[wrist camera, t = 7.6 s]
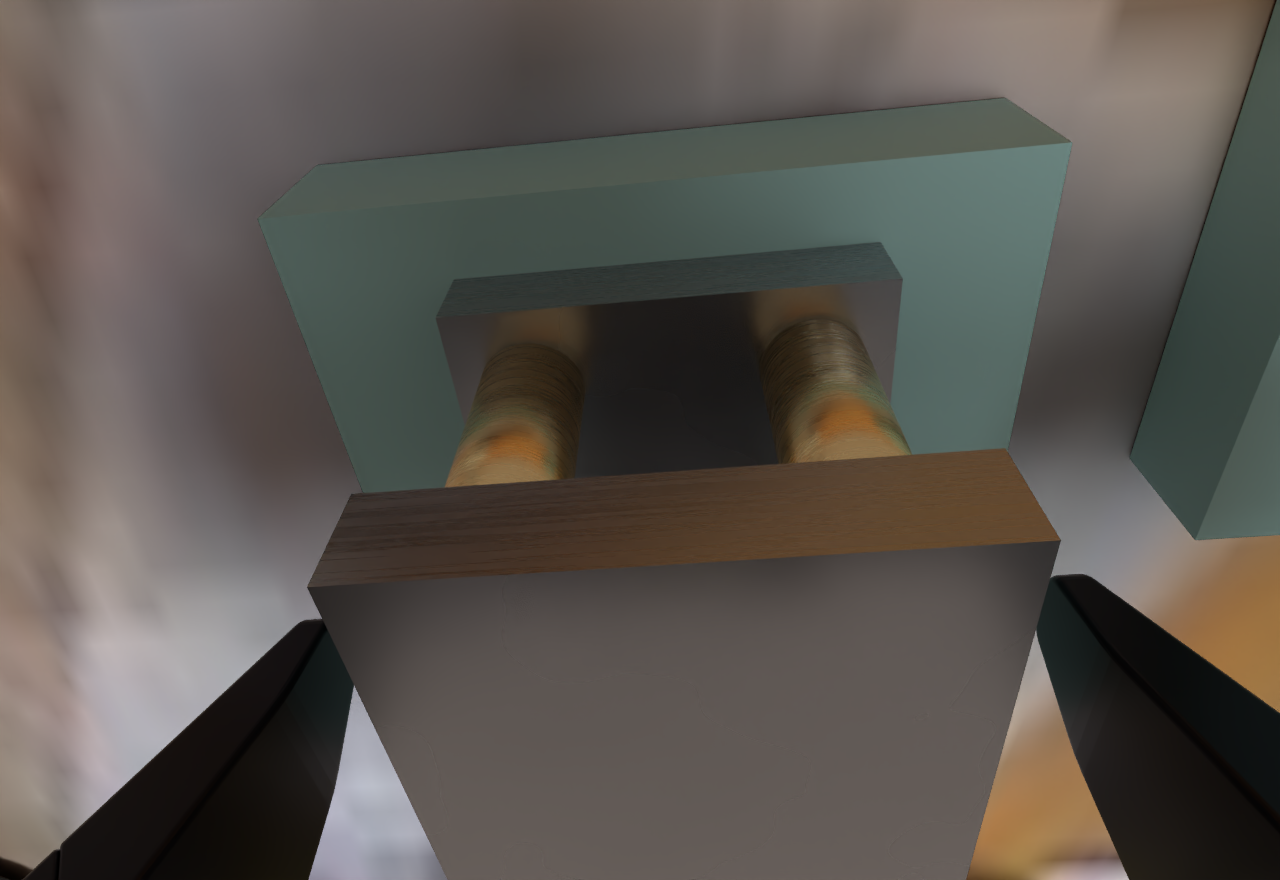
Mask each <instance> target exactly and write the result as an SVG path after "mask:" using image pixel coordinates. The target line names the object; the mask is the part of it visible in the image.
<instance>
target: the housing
mask: <svg viewBox="0 0 1280 880" xmlns="http://www.w3.org/2000/svg"><path fill="white" fill-rule="evenodd" d="M902 282H903V278H902V276H901V275H900V273H899V271H898V270H897V268H896V266H895V265H894V263H893V261H892V260H891V258H890V256H889V255H888V253H887V251H886V250H885V248H884V246H883V245H882V243H881V242H875V243H863V244H852V245H840V246H829V247H818V248H806V249H795V250H783V251H772V252H760V253H749V254H738V255H726V256H715V257H703V258H692V259H681V260H669V261H658V262H646V263H635V264H623V265H612V266H601V267H589V268H578V269H566V270H555V271H544V272H532V273H521V274H509V275H498V276H486V277H475V278H464V279H454V280H453V282H452V284H451V286H450V288H449V291H448V293H447V295H446V297H445V299H444V301H443V303H442V305H441V307H440V309H439V311H438V314H437V316H436V322H437V326H438V329H439V333H440V337H441V340H442V344H443V348H444V351H445V355H446V359H447V362H448V366H449V370H450V373H451V377H452V381H453V384H454V388H455V392H456V395H457V399H458V403H459V406H460V410H461V413H462V417H463V421H464V424H465V427H464V430H463V433H462V436H461V439H460V442H459V445H458V448H457V451H456V454H455V457H454V460H453V463H452V466H451V469H450V472H449V475H448V478H447V481H446V484H445V487H443V488H429V489H414V490H400V491H386V492H371V493H357V494H351V496H350V498H349V500H348V502H347V505H346V507H345V509H344V511H343V513H342V515H341V517H340V519H339V521H338V523H337V526H336V528H335V530H334V532H333V534H332V536H331V538H330V540H329V542H328V544H327V546H326V549H325V551H324V553H323V555H322V557H321V559H320V561H319V563H318V565H317V567H316V570H315V572H314V574H313V576H312V578H311V580H310V582H309V584H308V586H307V588H308V590H309V592H310V594H311V596H312V598H313V600H314V603H315V605H316V607H317V609H318V611H319V613H320V615H321V617H322V619H323V621H324V623H325V625H326V628H327V630H328V632H329V634H330V636H331V638H332V640H333V642H334V644H335V646H336V648H337V650H338V652H339V655H340V657H341V659H342V661H343V663H344V665H345V667H346V669H347V671H348V673H349V675H350V677H351V680H352V682H353V684H354V686H355V688H356V690H357V692H358V694H359V696H360V698H361V700H362V702H363V704H364V707H365V709H366V711H367V713H368V715H369V717H370V719H371V721H372V723H373V725H374V727H375V729H376V732H377V734H378V736H379V738H380V740H381V742H382V744H383V746H384V748H385V750H386V752H387V754H388V756H389V759H390V761H391V763H392V765H393V767H394V769H395V771H396V773H397V775H398V777H399V779H400V781H401V784H402V786H403V788H404V790H405V792H406V794H407V796H408V798H409V800H410V802H411V804H412V806H413V808H414V811H415V813H416V815H417V817H418V819H419V821H420V823H421V825H422V827H423V829H424V831H425V833H426V836H427V838H428V840H429V842H430V844H431V846H432V848H433V850H434V852H435V854H436V856H437V858H438V860H439V863H440V865H441V867H442V869H443V871H444V873H445V875H446V877H447V879H448V880H966V878H967V875H968V871H969V868H970V864H971V860H972V857H973V853H974V850H975V846H976V842H977V839H978V835H979V832H980V828H981V825H982V821H983V817H984V814H985V810H986V807H987V803H988V799H989V796H990V792H991V789H992V785H993V781H994V778H995V774H996V771H997V767H998V764H999V760H1000V756H1001V753H1002V749H1003V746H1004V742H1005V738H1006V735H1007V731H1008V728H1009V724H1010V721H1011V717H1012V713H1013V710H1014V706H1015V703H1016V699H1017V695H1018V692H1019V688H1020V685H1021V681H1022V677H1023V674H1024V670H1025V667H1026V663H1027V660H1028V656H1029V652H1030V649H1031V645H1032V642H1033V638H1034V634H1035V631H1036V627H1037V624H1038V620H1039V617H1040V613H1041V609H1042V606H1043V602H1044V599H1045V595H1046V591H1047V588H1048V584H1049V581H1050V577H1051V574H1052V570H1053V566H1054V563H1055V559H1056V556H1057V552H1058V548H1059V545H1060V541H1061V540H1060V538H1059V537H1058V535H1057V533H1056V532H1055V530H1054V528H1053V527H1052V525H1051V523H1050V522H1049V520H1048V518H1047V517H1046V515H1045V513H1044V512H1043V510H1042V508H1041V507H1040V505H1039V503H1038V502H1037V500H1036V498H1035V497H1034V495H1033V494H1032V492H1031V490H1030V489H1029V487H1028V485H1027V484H1026V482H1025V480H1024V479H1023V477H1022V475H1021V474H1020V472H1019V470H1018V469H1017V467H1016V465H1015V464H1014V462H1013V460H1012V459H1011V457H1010V455H1009V454H1008V452H1007V450H1006V449H1005V448H1001V449H986V450H972V451H958V452H944V453H929V454H915V455H912V452H911V450H910V448H909V446H908V443H907V441H906V439H905V436H904V434H903V432H902V430H901V427H900V425H899V423H898V421H897V418H896V416H895V414H894V411H893V409H892V407H891V405H890V403H891V393H892V383H893V373H894V363H895V353H896V343H897V333H898V323H899V312H900V302H901V292H902Z"/></svg>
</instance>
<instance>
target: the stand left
mask: <svg viewBox="0 0 1280 880" xmlns="http://www.w3.org/2000/svg"><path fill="white" fill-rule="evenodd" d="M1071 147H1072V142H1071V141H1069V140H1068V139H1066V138H1065V137H1063V136H1062V135H1060V134H1059V133H1057V132H1056V131H1054V130H1053V129H1051V128H1050V127H1048V126H1047V125H1045V124H1044V123H1042V122H1041V121H1039V120H1038V119H1036V118H1035V117H1033V116H1032V115H1030V114H1029V113H1027V112H1026V111H1024V110H1023V109H1021V108H1020V107H1018V106H1017V105H1015V104H1014V103H1012V102H1011V101H1009V100H1008V99H1006V98H998V99H988V100H978V101H968V102H958V103H947V104H937V105H927V106H917V107H906V108H896V109H886V110H876V111H866V112H855V113H845V114H835V115H825V116H814V117H804V118H794V119H784V120H774V121H763V122H753V123H743V124H733V125H722V126H712V127H702V128H692V129H681V130H671V131H661V132H651V133H641V134H630V135H620V136H610V137H600V138H589V139H579V140H569V141H559V142H549V143H538V144H528V145H518V146H508V147H497V148H487V149H477V150H467V151H456V152H446V153H436V154H426V155H416V156H405V157H395V158H385V159H375V160H364V161H354V162H344V163H334V164H324V165H317V166H315V167H314V168H313V169H312V170H311V171H310V172H309V173H308V174H307V175H305V176H304V177H303V178H302V179H301V180H300V181H299V182H298V183H297V184H295V185H294V186H293V187H292V188H291V189H290V190H289V191H288V192H287V193H285V194H284V195H283V196H282V197H281V198H280V199H279V200H278V201H277V202H275V203H274V204H273V205H272V206H271V207H270V208H269V209H268V210H267V211H265V212H264V213H263V214H262V215H261V216H260V217H259V218H258V222H259V224H260V227H261V230H262V232H263V235H264V237H265V240H266V243H267V245H268V248H269V250H270V253H271V256H272V258H273V261H274V263H275V266H276V268H277V271H278V274H279V276H280V279H281V281H282V284H283V287H284V289H285V292H286V294H287V297H288V300H289V302H290V305H291V307H292V310H293V313H294V315H295V318H296V320H297V323H298V326H299V328H300V331H301V333H302V336H303V339H304V341H305V344H306V346H307V349H308V352H309V354H310V357H311V359H312V362H313V365H314V367H315V370H316V372H317V375H318V378H319V380H320V383H321V385H322V388H323V390H324V393H325V396H326V398H327V401H328V403H329V406H330V409H331V411H332V414H333V416H334V419H335V422H336V424H337V427H338V429H339V432H340V435H341V437H342V440H343V442H344V445H345V448H346V450H347V453H348V455H349V458H350V461H351V463H352V466H353V468H354V471H355V474H356V476H357V479H358V481H359V484H360V487H361V489H362V492H363V493H371V492H386V491H400V490H414V489H429V488H443V487H445V484H446V481H447V478H448V475H449V472H450V469H451V466H452V463H453V460H454V457H455V454H456V451H457V448H458V445H459V442H460V439H461V436H462V433H463V430H464V427H465V424H464V421H463V417H462V413H461V410H460V406H459V403H458V399H457V395H456V392H455V388H454V384H453V381H452V377H451V373H450V370H449V366H448V362H447V359H446V355H445V351H444V348H443V344H442V340H441V337H440V333H439V329H438V326H437V322H436V316H437V314H438V311H439V309H440V307H441V305H442V303H443V301H444V299H445V297H446V295H447V293H448V291H449V288H450V286H451V284H452V282H453V280H454V279H464V278H475V277H486V276H498V275H509V274H521V273H532V272H544V271H555V270H566V269H578V268H589V267H601V266H612V265H623V264H635V263H646V262H658V261H669V260H681V259H692V258H703V257H715V256H726V255H738V254H749V253H760V252H772V251H783V250H795V249H806V248H818V247H829V246H840V245H852V244H863V243H875V242H881V243H882V245H883V246H884V248H885V250H886V251H887V253H888V255H889V256H890V258H891V260H892V261H893V263H894V265H895V266H896V268H897V270H898V271H899V273H900V275H901V276H902V278H903V282H902V292H901V302H900V312H899V323H898V333H897V343H896V353H895V363H894V373H893V383H892V393H891V403H890V405H891V407H892V409H893V411H894V414H895V416H896V418H897V421H898V423H899V425H900V427H901V430H902V432H903V434H904V436H905V439H906V441H907V443H908V446H909V448H910V450H911V452H912V455H915V454H929V453H944V452H958V451H972V450H986V449H1001V448H1005V449H1006V450H1007V452H1008V447H1009V443H1010V438H1011V433H1012V428H1013V424H1014V419H1015V414H1016V409H1017V404H1018V400H1019V395H1020V390H1021V385H1022V381H1023V376H1024V371H1025V366H1026V361H1027V357H1028V352H1029V347H1030V342H1031V338H1032V333H1033V328H1034V323H1035V319H1036V314H1037V309H1038V304H1039V299H1040V295H1041V290H1042V285H1043V280H1044V276H1045V271H1046V266H1047V261H1048V256H1049V252H1050V247H1051V242H1052V237H1053V233H1054V228H1055V223H1056V218H1057V214H1058V209H1059V204H1060V199H1061V194H1062V190H1063V185H1064V180H1065V175H1066V171H1067V166H1068V161H1069V156H1070V152H1071Z"/></svg>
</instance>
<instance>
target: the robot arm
mask: <svg viewBox="0 0 1280 880" xmlns="http://www.w3.org/2000/svg"><path fill="white" fill-rule="evenodd" d="M1036 630H1037V637H1038V641H1039V644H1040V648H1041V651H1042V654H1043V657H1044V660H1045V664H1046V667H1047V670H1048V673H1049V676H1050V680H1051V683H1052V686H1053V689H1054V692H1055V695H1056V699H1057V702H1058V705H1059V708H1060V711H1061V715H1062V718H1063V721H1064V724H1065V727H1066V731H1067V734H1068V737H1069V740H1070V743H1071V746H1072V749H1073V751H1074V754H1075V757H1076V759H1077V762H1078V764H1079V767H1080V769H1081V772H1082V774H1083V776H1084V779H1085V781H1086V783H1087V785H1088V788H1089V790H1090V792H1091V794H1092V797H1093V799H1094V801H1095V803H1096V806H1097V808H1098V810H1099V813H1100V815H1101V817H1102V819H1103V822H1104V824H1105V826H1106V828H1107V831H1108V833H1109V835H1110V837H1111V840H1112V842H1113V844H1114V846H1115V849H1116V851H1117V853H1118V855H1119V858H1120V860H1121V862H1122V865H1123V867H1124V869H1125V871H1126V874H1127V876H1128V878H1129V880H1280V713H1279V712H1278V711H1276V710H1275V709H1273V708H1272V707H1271V706H1269V705H1268V704H1267V703H1265V702H1264V701H1262V700H1261V699H1260V698H1258V697H1257V696H1255V695H1254V694H1253V693H1251V692H1250V691H1249V690H1247V689H1246V688H1244V687H1243V686H1242V685H1240V684H1239V683H1237V682H1236V681H1235V680H1233V679H1232V678H1231V677H1229V676H1228V675H1226V674H1225V673H1224V672H1222V671H1221V670H1219V669H1218V668H1217V667H1215V666H1214V665H1213V664H1211V663H1210V662H1208V661H1207V660H1206V659H1204V658H1203V657H1201V656H1200V655H1199V654H1197V653H1196V652H1195V651H1193V650H1192V649H1190V648H1189V647H1188V646H1186V645H1185V644H1183V643H1182V642H1181V641H1179V640H1178V639H1177V638H1175V637H1174V636H1172V635H1171V634H1170V633H1168V632H1167V631H1165V630H1164V629H1163V628H1161V627H1160V626H1159V625H1157V624H1156V623H1154V622H1153V621H1152V620H1150V619H1149V618H1147V617H1146V616H1145V615H1143V614H1142V613H1141V612H1139V611H1138V610H1136V609H1135V608H1134V607H1132V606H1131V605H1129V604H1128V603H1127V602H1125V601H1124V600H1123V599H1121V598H1120V597H1118V596H1117V595H1116V594H1114V593H1113V592H1111V591H1110V590H1109V589H1107V588H1106V587H1105V586H1103V585H1102V584H1100V583H1099V582H1098V581H1096V580H1095V579H1093V578H1092V577H1090V576H1088V575H1085V574H1071V575H1056V576H1053V577H1051V578H1050V581H1049V584H1048V588H1047V591H1046V595H1045V599H1044V602H1043V606H1042V609H1041V613H1040V617H1039V620H1038V624H1037V627H1036ZM353 688H354V684H353V682H352V680H351V677H350V675H349V673H348V671H347V669H346V667H345V665H344V663H343V661H342V659H341V657H340V655H339V652H338V650H337V648H336V646H335V644H334V642H333V640H332V638H331V636H330V634H329V632H328V630H327V628H326V625H325V623H324V621H323V619H311V620H304V621H302V622H300V623H298V624H297V625H296V626H295V627H294V628H292V629H291V630H290V631H289V632H288V633H287V634H286V635H285V636H284V637H283V638H282V639H281V640H280V641H279V642H277V643H276V644H275V645H274V646H273V647H272V648H271V649H270V650H269V651H268V652H267V653H266V654H265V655H264V656H262V657H261V658H260V659H259V660H258V661H257V662H256V663H255V664H254V665H253V666H252V667H251V668H250V669H248V670H247V671H246V672H245V673H244V674H243V675H242V676H241V677H240V678H239V679H238V680H237V681H236V682H235V683H233V684H232V685H231V686H230V687H229V688H228V689H227V690H226V691H225V692H224V693H223V694H222V695H221V696H219V697H218V698H217V699H216V700H215V701H214V702H213V703H212V704H211V705H210V706H209V707H208V708H207V709H206V710H204V711H203V712H202V713H201V714H200V715H199V716H198V717H197V718H196V719H195V720H194V721H193V722H192V723H191V724H189V725H188V726H187V727H186V728H185V729H184V730H183V731H182V732H181V733H180V734H179V735H178V736H177V737H175V738H174V739H173V740H172V741H171V742H170V743H169V744H168V745H167V746H166V747H165V748H164V749H163V750H162V751H160V752H159V753H158V754H157V755H156V756H155V757H154V758H153V759H152V760H151V761H150V762H149V763H148V764H146V765H145V766H144V767H143V768H142V769H141V770H140V771H139V772H138V773H137V774H136V775H135V776H134V777H133V778H131V779H130V780H129V781H128V782H127V783H126V784H125V785H124V786H123V787H122V788H121V789H120V790H119V791H118V792H116V793H115V794H114V795H113V796H112V797H111V798H110V799H109V800H108V801H107V802H106V803H105V804H104V805H102V806H101V807H100V808H99V809H98V810H97V811H96V812H95V813H94V814H93V815H92V816H91V817H90V818H89V819H87V820H86V821H85V822H84V823H83V824H82V825H81V826H80V827H79V828H78V829H77V830H76V831H75V832H74V833H72V834H71V835H70V836H69V837H68V838H67V839H66V840H65V841H64V842H63V843H62V844H61V847H60V849H56V850H54V851H53V852H52V853H51V854H50V855H49V856H47V857H46V858H45V859H44V860H43V861H42V862H41V863H40V864H39V865H38V866H37V867H36V868H35V869H33V870H32V871H31V872H30V873H29V874H28V875H27V876H26V877H25V878H24V879H23V880H308V879H309V876H310V872H311V869H312V865H313V862H314V859H315V855H316V852H317V849H318V845H319V842H320V838H321V835H322V832H323V828H324V825H325V821H326V818H327V815H328V811H329V808H330V804H331V801H332V797H333V793H334V789H335V785H336V780H337V775H338V771H339V765H340V760H341V754H342V749H343V743H344V738H345V732H346V727H347V721H348V715H349V710H350V704H351V699H352V693H353Z"/></svg>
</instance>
